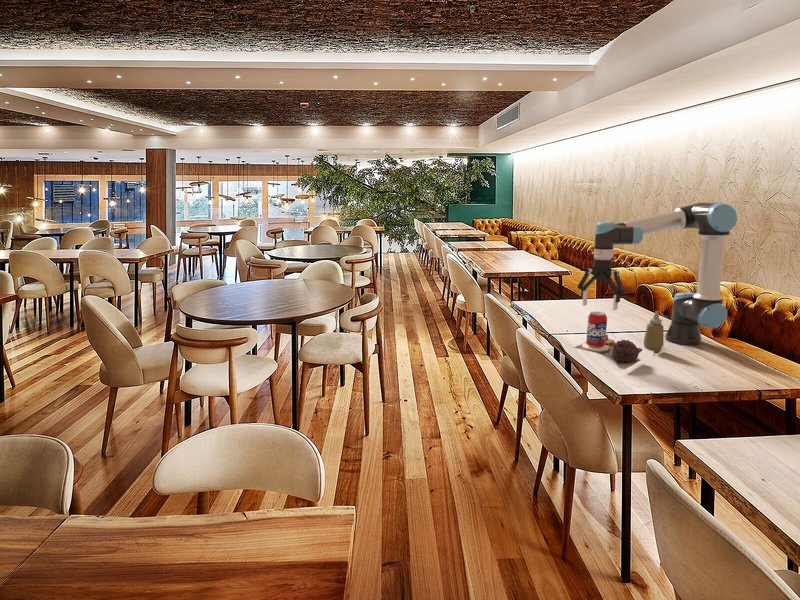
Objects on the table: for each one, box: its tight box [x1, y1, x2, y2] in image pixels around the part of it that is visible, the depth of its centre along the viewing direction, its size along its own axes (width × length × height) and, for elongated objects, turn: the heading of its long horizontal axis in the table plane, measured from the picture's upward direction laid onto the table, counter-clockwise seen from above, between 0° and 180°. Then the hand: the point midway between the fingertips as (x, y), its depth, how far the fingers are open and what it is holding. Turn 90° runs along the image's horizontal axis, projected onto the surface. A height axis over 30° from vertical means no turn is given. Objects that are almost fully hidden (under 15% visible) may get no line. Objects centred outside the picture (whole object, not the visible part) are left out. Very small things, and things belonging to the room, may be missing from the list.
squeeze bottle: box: [643, 310, 665, 354], centre depth 235 cm, size 8×8×18 cm
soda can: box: [585, 311, 608, 348], centre depth 234 cm, size 8×8×15 cm
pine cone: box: [611, 339, 643, 364], centre depth 218 cm, size 18×10×10 cm, turn 126°
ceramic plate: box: [581, 342, 609, 352], centre depth 236 cm, size 11×11×1 cm
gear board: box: [573, 341, 617, 356], centre depth 239 cm, size 14×22×2 cm, turn 136°
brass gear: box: [605, 333, 615, 346], centre depth 243 cm, size 8×8×4 cm
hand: (599, 307), depth 232 cm, fingers open, 13 cm apart
